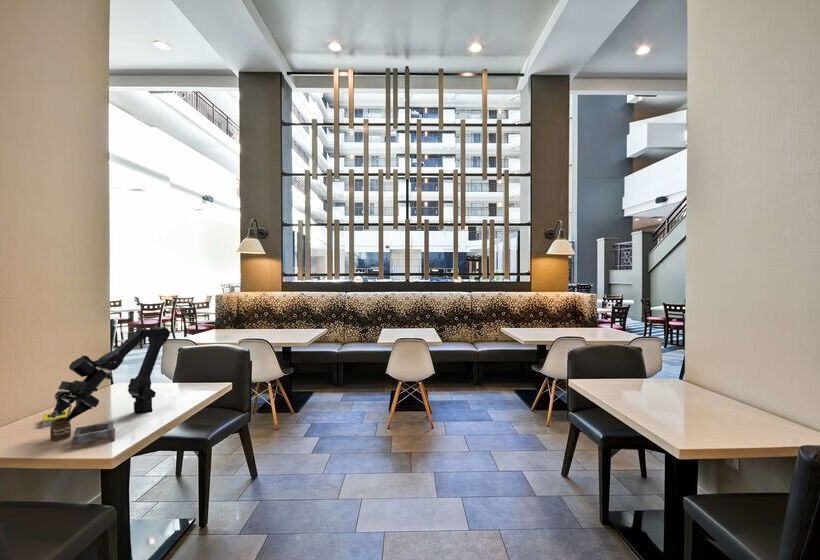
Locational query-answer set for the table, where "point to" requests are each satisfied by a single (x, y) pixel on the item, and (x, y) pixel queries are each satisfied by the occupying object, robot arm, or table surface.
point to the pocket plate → (93, 435)
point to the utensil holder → (60, 428)
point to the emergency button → (48, 420)
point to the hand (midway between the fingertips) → (59, 418)
